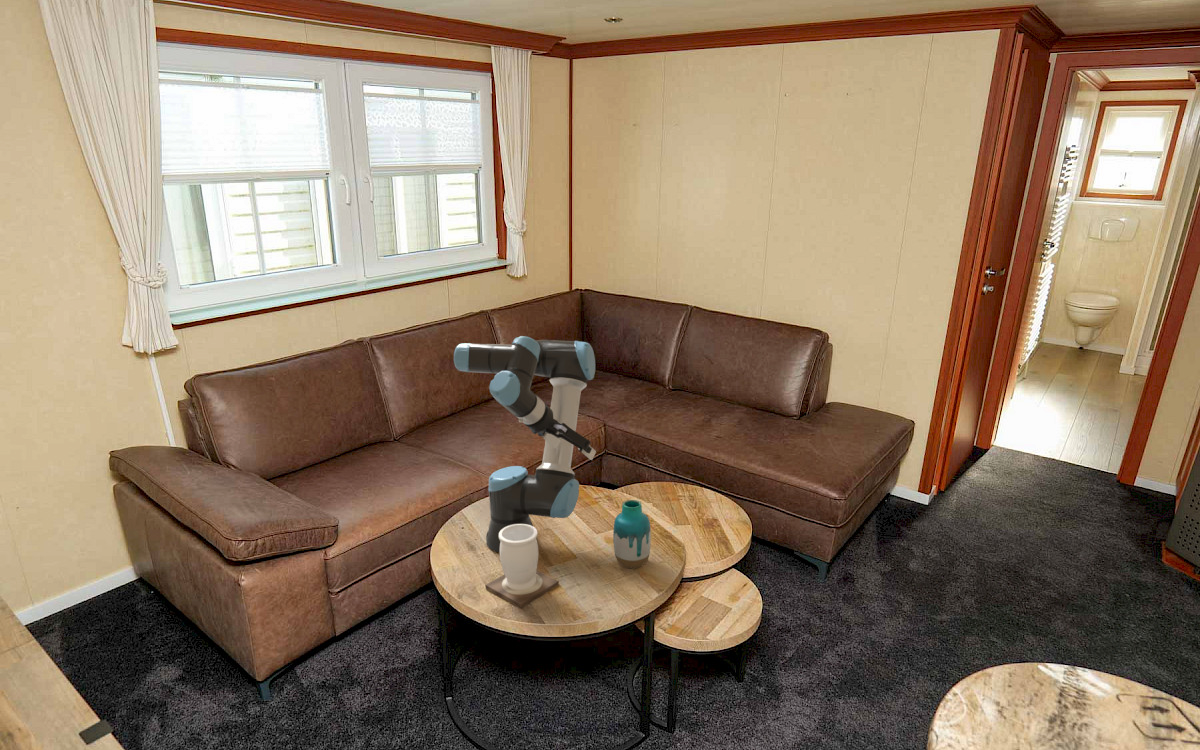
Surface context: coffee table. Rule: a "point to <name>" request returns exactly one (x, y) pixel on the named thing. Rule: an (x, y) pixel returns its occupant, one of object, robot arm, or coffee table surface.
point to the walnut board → (522, 596)
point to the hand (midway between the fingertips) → (575, 449)
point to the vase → (632, 535)
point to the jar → (519, 555)
